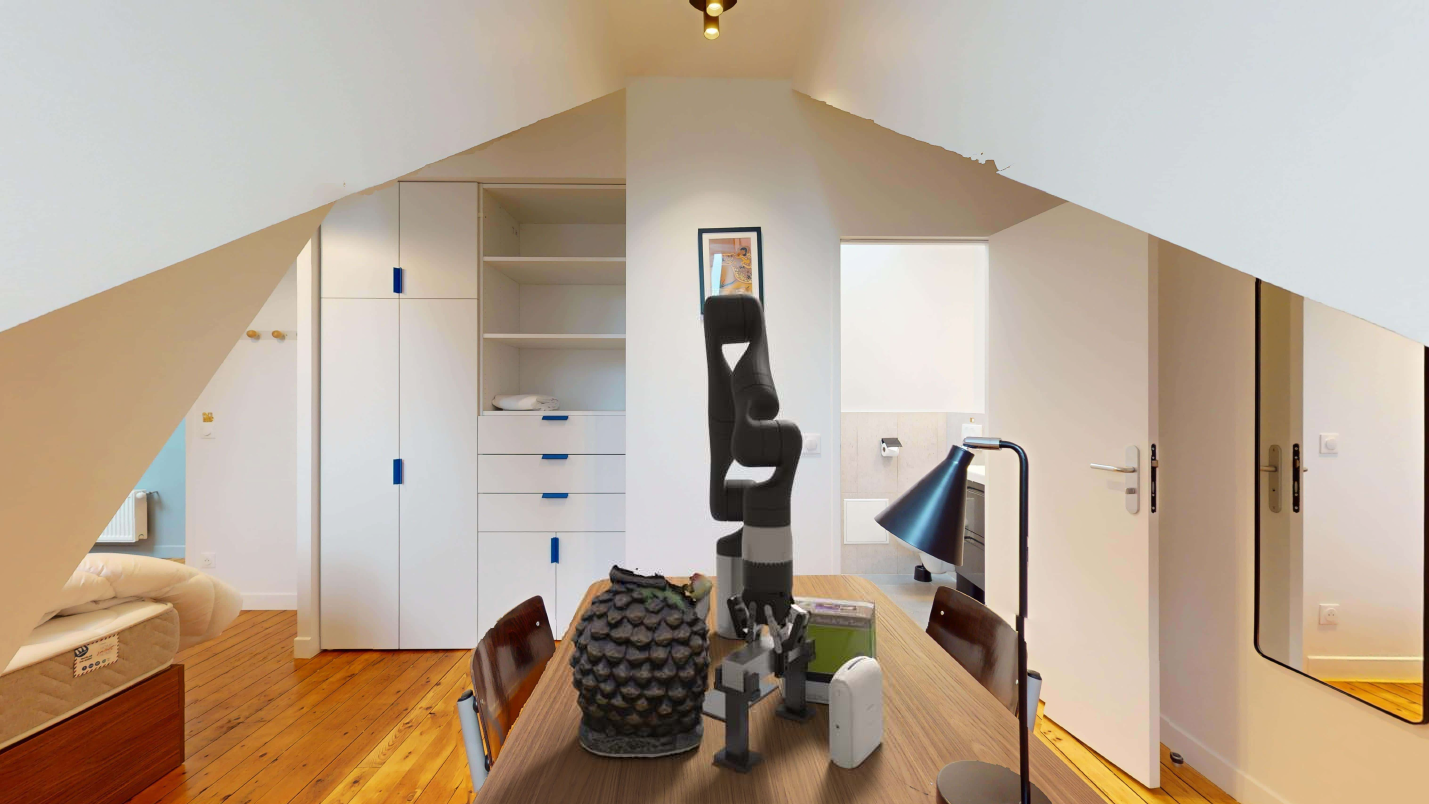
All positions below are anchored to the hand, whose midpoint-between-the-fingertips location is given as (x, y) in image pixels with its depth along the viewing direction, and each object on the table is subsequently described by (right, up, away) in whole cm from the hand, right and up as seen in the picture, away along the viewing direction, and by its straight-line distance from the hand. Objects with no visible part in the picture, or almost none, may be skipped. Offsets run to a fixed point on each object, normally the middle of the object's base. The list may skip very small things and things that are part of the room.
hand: (768, 672), depth 86 cm
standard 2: (+5, -9, +6) cm, 12 cm away
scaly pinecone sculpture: (-18, -9, -1) cm, 21 cm away
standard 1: (-5, -9, -7) cm, 12 cm away
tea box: (+12, -10, +13) cm, 20 cm away
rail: (0, +1, 0) cm, 1 cm away
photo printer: (+12, -9, -4) cm, 16 cm away
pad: (-4, -10, +12) cm, 16 cm away
